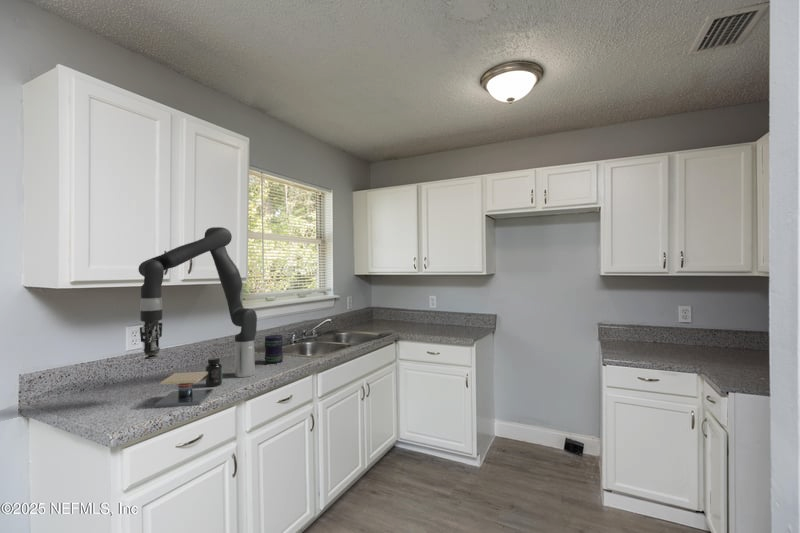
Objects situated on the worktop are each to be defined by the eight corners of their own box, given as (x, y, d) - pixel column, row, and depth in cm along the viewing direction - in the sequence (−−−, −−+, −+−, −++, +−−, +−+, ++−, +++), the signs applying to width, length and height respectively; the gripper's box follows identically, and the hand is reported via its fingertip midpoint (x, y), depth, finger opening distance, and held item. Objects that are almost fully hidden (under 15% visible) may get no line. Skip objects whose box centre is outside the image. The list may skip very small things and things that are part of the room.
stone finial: (163, 355, 158) (163, 327, 158) (154, 359, 152) (154, 329, 153) (148, 356, 158) (148, 327, 158) (139, 359, 152) (139, 329, 152)
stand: (172, 394, 161) (172, 372, 161) (212, 391, 163) (212, 370, 164) (154, 407, 145) (154, 383, 145) (199, 404, 148) (199, 381, 148)
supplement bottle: (225, 382, 177) (225, 357, 177) (216, 387, 170) (216, 360, 170) (211, 382, 178) (211, 356, 178) (202, 387, 171) (202, 360, 171)
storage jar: (263, 361, 218) (263, 335, 218) (281, 360, 222) (281, 334, 222) (265, 365, 209) (265, 338, 209) (284, 363, 213) (284, 337, 213)
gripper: (152, 310, 149) (153, 353, 149) (169, 307, 163) (169, 346, 163) (131, 311, 148) (132, 354, 148) (150, 307, 162) (150, 347, 162)
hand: (151, 350), depth 155 cm, fingers closed on stone finial, 6 cm apart
